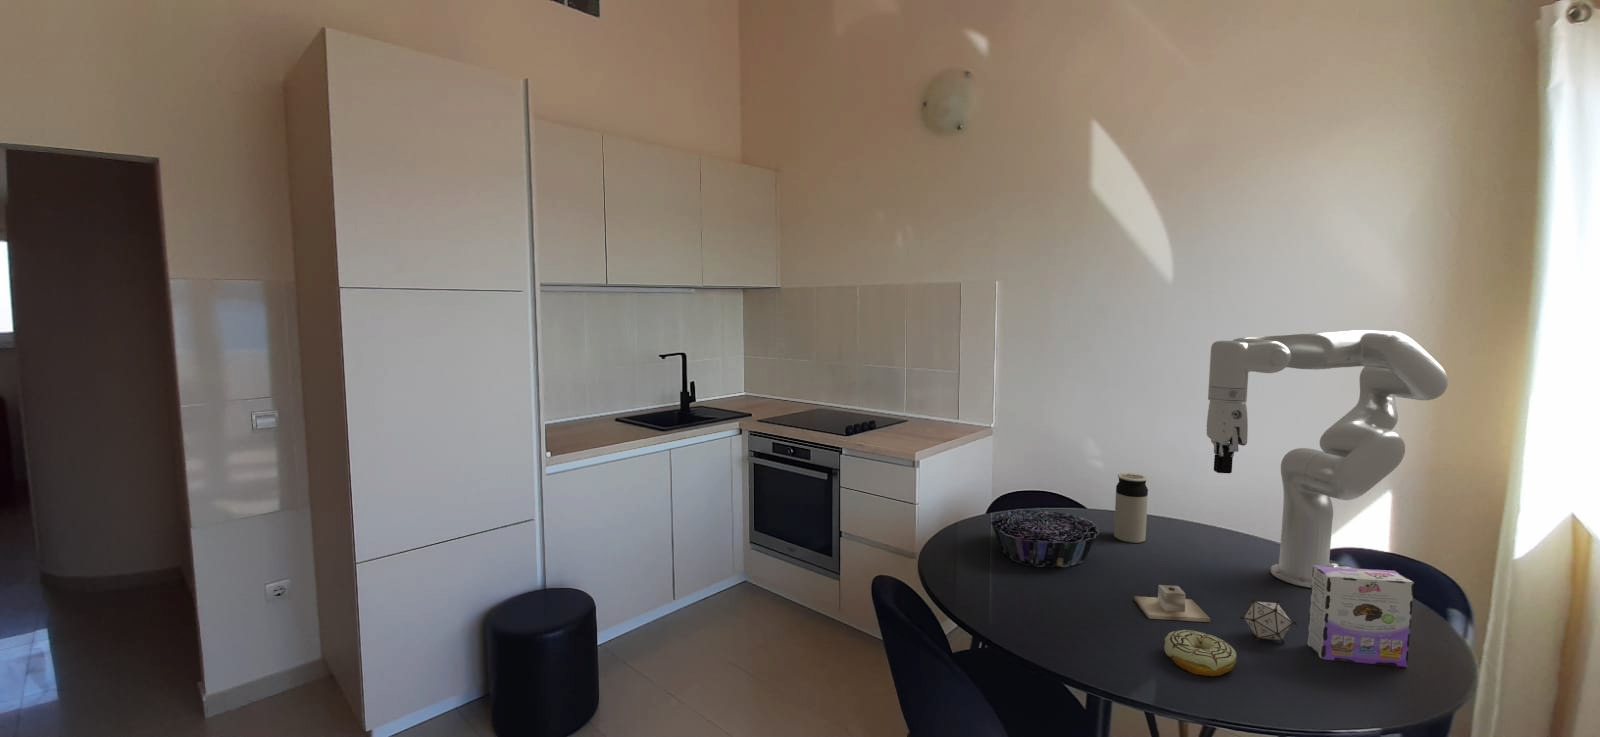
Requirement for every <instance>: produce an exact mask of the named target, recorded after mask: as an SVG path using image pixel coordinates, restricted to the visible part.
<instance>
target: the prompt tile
mask: <svg viewBox="0 0 1600 737" xmlns="http://www.w3.org/2000/svg"><path fill="white" fill-rule="evenodd" d="M1133 599H1134V601H1135V603H1137V605H1138V607H1139V608H1140V609H1141V611H1143V613H1144V614H1145V615H1146V617H1147V618H1148V619H1152V620H1153V619H1154V620H1165V621H1168V620H1169V621H1183V622H1185V621H1187V622H1203V623H1211V617H1209V616H1208V615H1207V613H1205V611H1203V609H1202V608H1201V607H1200V606H1199V605H1198V604H1197V603H1196V602H1195V601H1194V600H1193V599H1192V598H1186V592H1185V591H1184V590H1183V589H1181V587H1180V586H1179V585H1171V584H1169V585H1166V584H1158V590H1157V597H1154V596H1150V597H1149V596H1140V595H1139V596H1138V595H1136V596H1134V598H1133Z"/></svg>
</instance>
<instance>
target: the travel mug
mask: <svg viewBox="0 0 1600 737" xmlns="http://www.w3.org/2000/svg"><path fill="white" fill-rule="evenodd" d="M1117 478H1118V483H1117V484H1116V485H1115V502H1114V503H1115V505H1114V506H1115V507H1114V508H1115V509H1114V528H1113V529H1114V530H1113V531H1114V532H1113V536H1114V537H1115V538H1116V539H1118V540H1119V541H1122V542H1125V543H1131V544H1133V543H1134V544H1140V543H1143V542H1146V538H1147V537H1146V536H1147V516H1148V515H1147V514H1148V493H1149V489H1148V487H1147V485H1146V483H1147V481H1148V477H1147V476H1146V475H1144V474H1139V473H1133V472H1132V473H1131V472H1122V473H1119V474H1117Z"/></svg>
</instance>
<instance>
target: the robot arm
mask: <svg viewBox="0 0 1600 737" xmlns="http://www.w3.org/2000/svg"><path fill="white" fill-rule="evenodd" d="M1353 367H1354V368H1355V367H1363V368H1362V369H1361V371H1360V374H1359V398H1358V401H1357V403H1356V405H1354V407H1353V408H1352V409H1350V410H1349V411H1348V412H1347V413H1346V414H1345V415H1343V416H1342V417H1340V419H1338V420H1337V421H1336V422H1335V423H1333V424H1332V425H1331V426H1330V427H1328V428H1327V429H1326V430H1325V431H1324V432H1323V434H1322V435H1321V437H1320V439H1319V447H1320V449H1321V450H1322V451H1321V450H1318V449H1313V448H1309V447H1308V448H1307V447H1301V448H1300V447H1298V448H1293V449H1292V450H1289V451H1288V452H1286V454H1285V455H1284V456H1283V458H1282V460H1281V463H1280V474H1281V475H1280V476H1281V480H1282V486H1283V487H1282V488H1283V505H1282V507H1283V508H1282V516H1281V517H1282V519H1281V529H1280V530H1281V533H1280V544H1279V545H1280V546H1279V549H1280V550H1279V560H1278V563H1276V564H1272V566H1270V574H1272V576H1274V577H1275V578H1277V579H1279V580H1281V581H1283V582H1286V583H1289V584H1292V585H1294V586H1300V587H1303V588H1308V589H1309V588H1310V589H1311V587H1312V574H1313V565H1314V566H1328V567H1343V568H1351V566H1339V564H1338V563H1331V562H1330V556H1331V544H1332V543H1331V542H1332V530H1333V521H1334V520H1333V518H1334V506H1333V502H1332V499H1331V498H1334V499H1337V500H1341V501H1352V500H1356V499H1358V498H1360V497H1362V496H1363V495H1365V494H1366V493H1367V492H1369V491H1370V490H1371V489H1372V488H1374V487H1375V486H1376V485H1377V484H1379V483H1380V482H1381V481H1383V479H1385V478H1386V477H1387V476H1389V475H1390V474H1391V473H1392V472H1393V471H1395V469H1396V468H1398V467H1399V465H1400V464H1401V463H1402V461H1403V459H1404V457H1405V454H1406V444H1405V441H1404V439H1403V438H1402V437H1401V435H1399V434H1398V433H1397V432H1395V431H1393V429H1394V428H1395V427H1396V425H1397V423H1398V420H1399V414H1398V410H1397V406H1396V404H1397V403H1396V398H1403V399H1410V400H1416V401H1431V400H1435V399H1438V398H1439V397H1441V396H1442V395H1443V394H1445V392H1446V390H1448V389H1447V388H1448V386H1449V378H1448V375H1447V373H1446V370H1445V369H1444V368H1443V366H1442V365H1441V364H1440V363H1439V362H1438V361H1437V360H1435V358H1434V357H1433V356H1432V355H1431V354H1430V353H1428V352H1427V351H1426V350H1425V349H1424V348H1423V347H1422V346H1421V345H1420V344H1418V343H1417V342H1416V341H1415V340H1414V339H1413V338H1411V337H1409V335H1406V334H1404V333H1402V332H1399V331H1394V330H1392V331H1390V330H1370V329H1357V330H1356V329H1355V330H1342V331H1331V332H1327V331H1326V332H1315V333H1314V332H1313V333H1312V332H1311V333H1295V334H1288V335H1287V334H1286V335H1285V334H1283V335H1264V336H1263V335H1261V336H1260V335H1259V336H1249V337H1247V336H1246V337H1245V336H1244V337H1237V338H1235V339H1232V340H1217V341H1215V342H1213V343H1212V344H1211V347H1210V359H1209V373H1208V374H1209V378H1208V391H1207V393H1208V395H1207V400H1208V401H1209V403H1208V410H1207V419H1206V436H1207V437H1208V438H1209V439H1210V442H1211V443H1212V445H1213V453H1214V459H1213V460H1214V462H1213V471H1214V472H1215V473H1218V474H1231V473H1232V472H1233V457H1234V456H1235V453H1238V452H1239V450H1240V449H1239V446H1243V447H1244V446H1246V445H1247V444H1248V437H1249V436H1248V435H1249V434H1248V433H1249V432H1248V426H1249V425H1248V424H1249V423H1248V408H1247V398H1248V382H1249V373H1251V372H1253V373H1254V372H1255V373H1263V374H1274V373H1279V372H1280V371H1283V370H1285V369H1286V368H1290V369H1298V370H1299V369H1300V370H1315V371H1318V370H1328V369H1329V370H1330V369H1337V368H1339V369H1340V368H1353Z"/></svg>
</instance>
